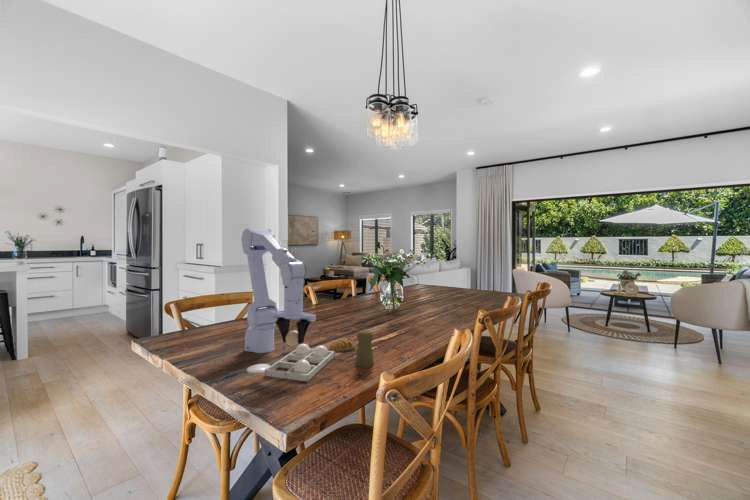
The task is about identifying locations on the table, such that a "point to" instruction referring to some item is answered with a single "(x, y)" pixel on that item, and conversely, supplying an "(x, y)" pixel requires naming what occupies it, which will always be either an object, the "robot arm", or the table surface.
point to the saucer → (257, 368)
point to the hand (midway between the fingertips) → (293, 342)
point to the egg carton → (292, 356)
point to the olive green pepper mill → (364, 349)
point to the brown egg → (292, 338)
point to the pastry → (342, 345)
